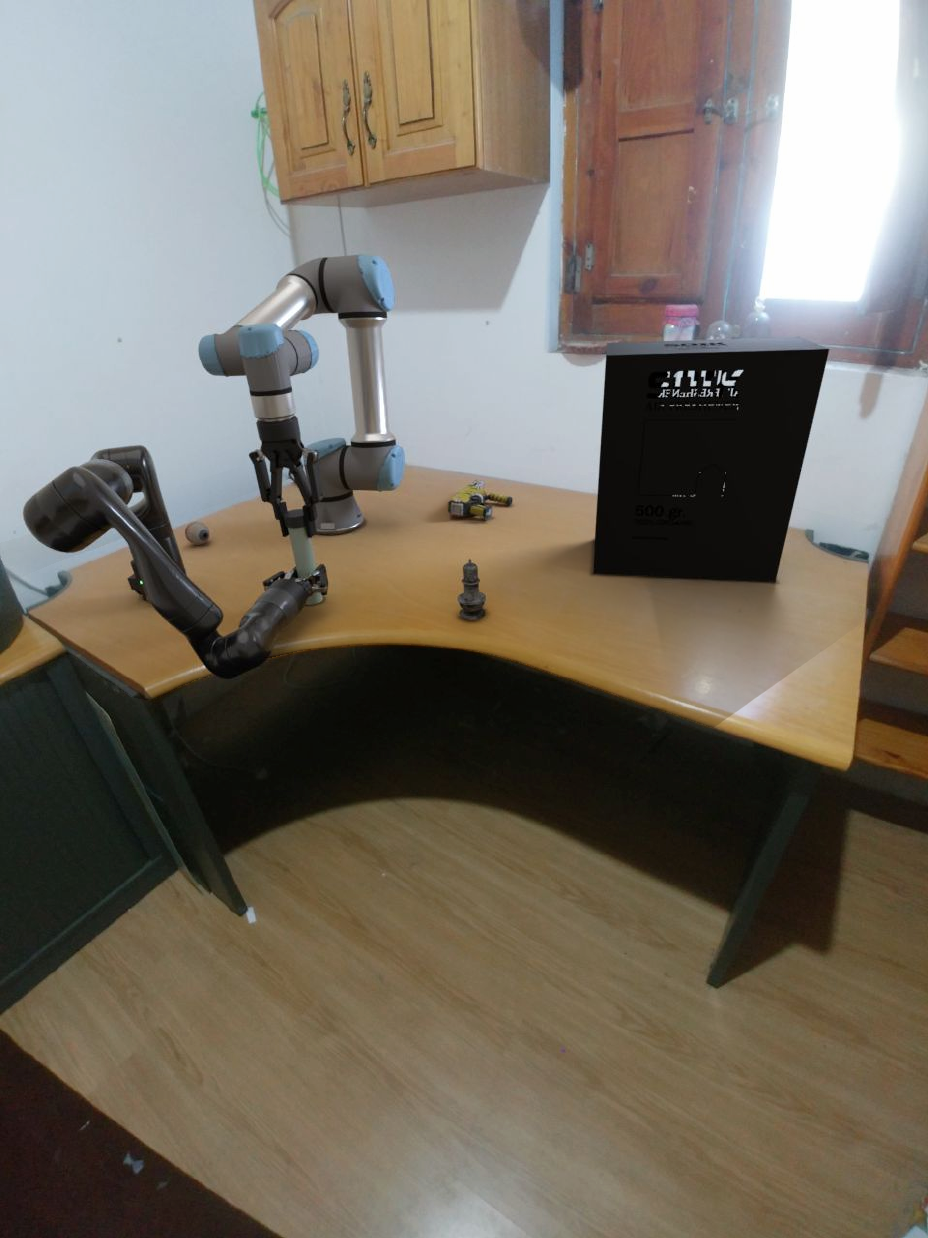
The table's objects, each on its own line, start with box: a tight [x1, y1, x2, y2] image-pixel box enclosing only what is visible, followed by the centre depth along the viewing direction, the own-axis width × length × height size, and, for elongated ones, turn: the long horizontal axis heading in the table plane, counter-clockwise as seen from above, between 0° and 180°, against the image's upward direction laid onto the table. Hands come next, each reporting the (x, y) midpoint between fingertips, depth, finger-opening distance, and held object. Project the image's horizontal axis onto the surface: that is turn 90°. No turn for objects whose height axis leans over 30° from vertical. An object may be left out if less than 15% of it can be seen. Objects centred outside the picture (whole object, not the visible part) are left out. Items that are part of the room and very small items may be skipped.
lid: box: [283, 508, 306, 528], centre depth 121 cm, size 5×5×2 cm
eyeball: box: [184, 521, 211, 546], centre depth 161 cm, size 6×6×6 cm
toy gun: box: [447, 479, 514, 521], centre depth 175 cm, size 5×24×15 cm
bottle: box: [288, 526, 324, 606], centre depth 126 cm, size 4×4×19 cm
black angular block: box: [592, 336, 830, 583], centre depth 128 cm, size 38×20×45 cm, turn 78°
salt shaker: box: [456, 558, 487, 621], centre depth 119 cm, size 6×6×12 cm
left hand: (312, 567), depth 130 cm, fingers closed on bottle, 4 cm apart
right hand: (299, 534), depth 123 cm, fingers closed on lid, 5 cm apart
